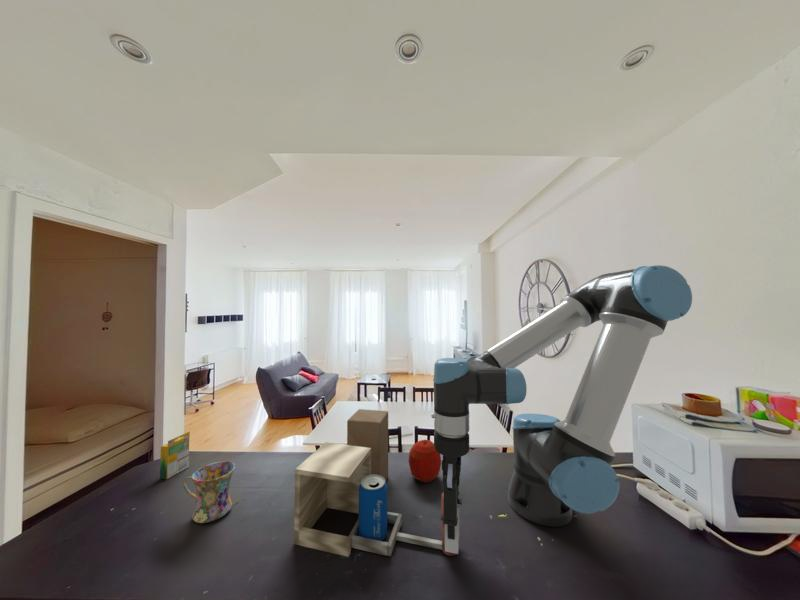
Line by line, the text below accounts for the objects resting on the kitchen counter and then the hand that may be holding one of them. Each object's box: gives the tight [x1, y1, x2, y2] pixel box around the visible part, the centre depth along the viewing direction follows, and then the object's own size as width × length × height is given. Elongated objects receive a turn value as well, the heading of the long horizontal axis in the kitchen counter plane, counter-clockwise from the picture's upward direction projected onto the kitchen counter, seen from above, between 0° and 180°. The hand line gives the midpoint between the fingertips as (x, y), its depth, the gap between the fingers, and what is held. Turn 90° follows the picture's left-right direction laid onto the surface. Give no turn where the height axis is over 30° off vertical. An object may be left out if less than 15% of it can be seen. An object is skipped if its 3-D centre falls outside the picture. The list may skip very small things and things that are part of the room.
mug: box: [182, 460, 236, 524], centre depth 71 cm, size 12×9×11 cm
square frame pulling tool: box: [347, 491, 456, 557], centre depth 62 cm, size 23×10×11 cm, turn 76°
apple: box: [408, 439, 442, 483], centre depth 86 cm, size 10×10×12 cm
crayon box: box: [159, 431, 191, 480], centre depth 89 cm, size 7×3×12 cm, turn 169°
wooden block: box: [346, 408, 389, 482], centre depth 83 cm, size 10×10×20 cm
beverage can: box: [358, 474, 388, 541], centre depth 64 cm, size 6×6×12 cm
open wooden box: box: [293, 442, 371, 558], centre depth 66 cm, size 13×13×16 cm
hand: (452, 543), depth 59 cm, fingers closed on square frame pulling tool, 3 cm apart
